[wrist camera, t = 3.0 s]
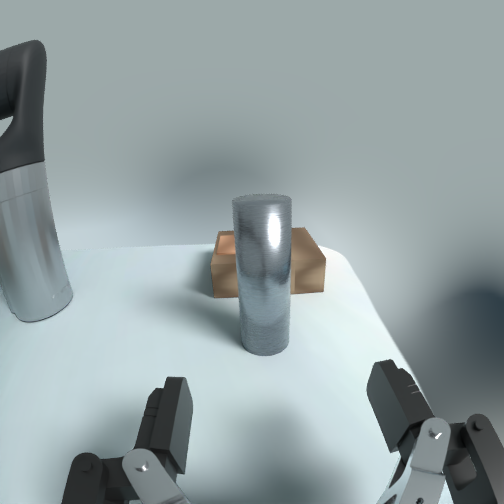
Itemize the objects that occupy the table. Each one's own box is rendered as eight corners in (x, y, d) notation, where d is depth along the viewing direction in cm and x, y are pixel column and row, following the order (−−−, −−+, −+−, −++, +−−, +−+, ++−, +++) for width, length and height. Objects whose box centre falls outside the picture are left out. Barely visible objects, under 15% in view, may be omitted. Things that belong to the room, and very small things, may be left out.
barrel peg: (242, 357, 22) (231, 207, 17) (242, 327, 25) (233, 195, 21) (291, 353, 22) (296, 204, 17) (285, 325, 25) (286, 193, 21)
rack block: (214, 298, 30) (210, 262, 29) (221, 258, 41) (218, 230, 39) (323, 291, 31) (326, 256, 29) (304, 253, 41) (304, 226, 39)
